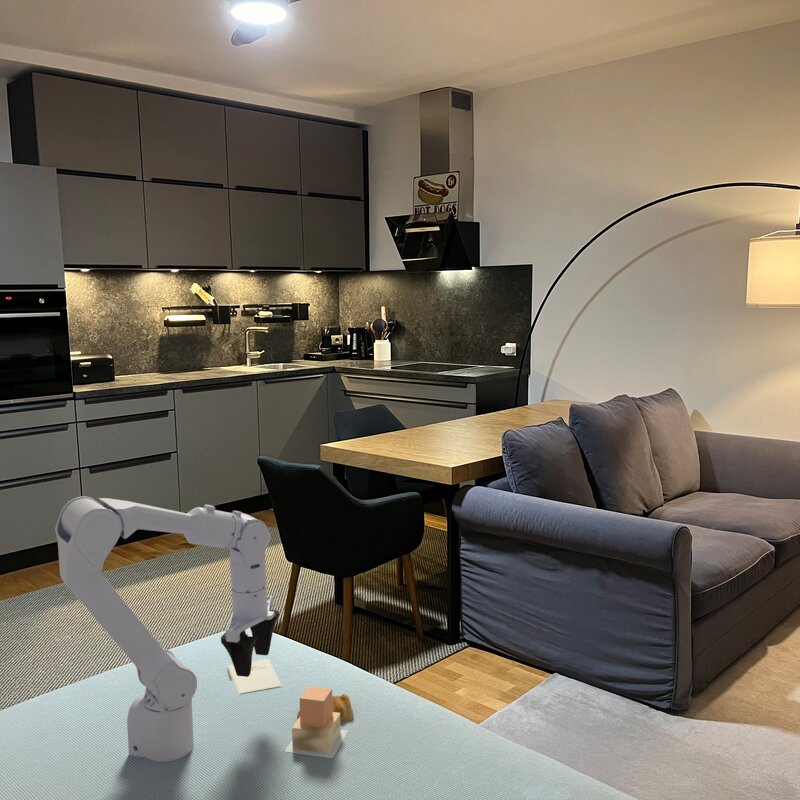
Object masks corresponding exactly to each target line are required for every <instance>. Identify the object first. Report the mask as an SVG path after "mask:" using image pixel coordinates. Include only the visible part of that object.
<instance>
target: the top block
mask: <svg viewBox="0 0 800 800" xmlns="http://www.w3.org/2000/svg"><path fill="white" fill-rule="evenodd" d="M332 696H333V688H326V687H319V686H311V685H308V687H307V688H305V691H304V692H303V693H302V694H301V696H300V697H299V711H300V725H303V726H310V727H318V728H325V727H326V725H327V723H328V722H329V720H330V719H331V717H332V716H333V709H332Z"/></svg>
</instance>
